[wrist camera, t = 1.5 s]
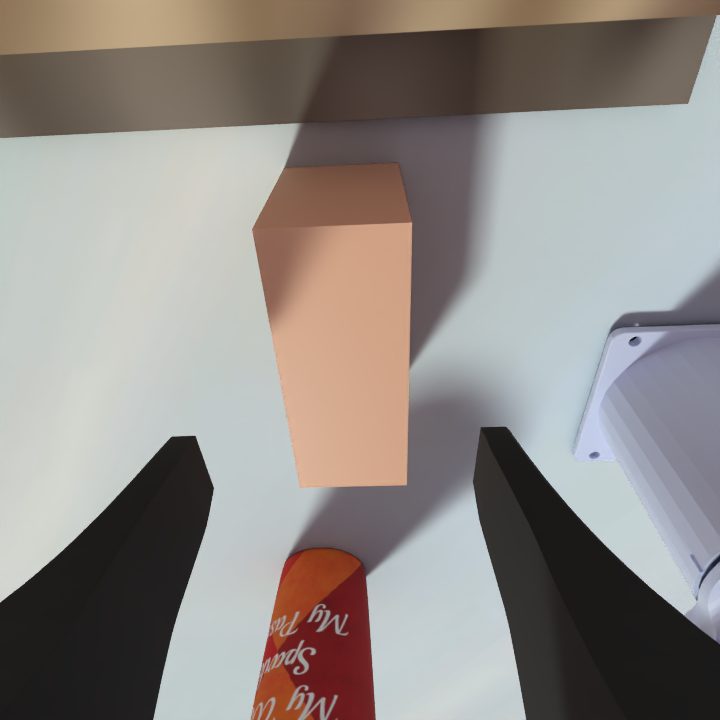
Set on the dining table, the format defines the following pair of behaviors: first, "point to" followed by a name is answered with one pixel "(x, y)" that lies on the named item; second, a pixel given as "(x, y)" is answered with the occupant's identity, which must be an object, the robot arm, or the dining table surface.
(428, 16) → the wooden stand
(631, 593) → the robot arm
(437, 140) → the dining table surface
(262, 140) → the dining table surface
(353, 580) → the paper cup
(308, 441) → the block
